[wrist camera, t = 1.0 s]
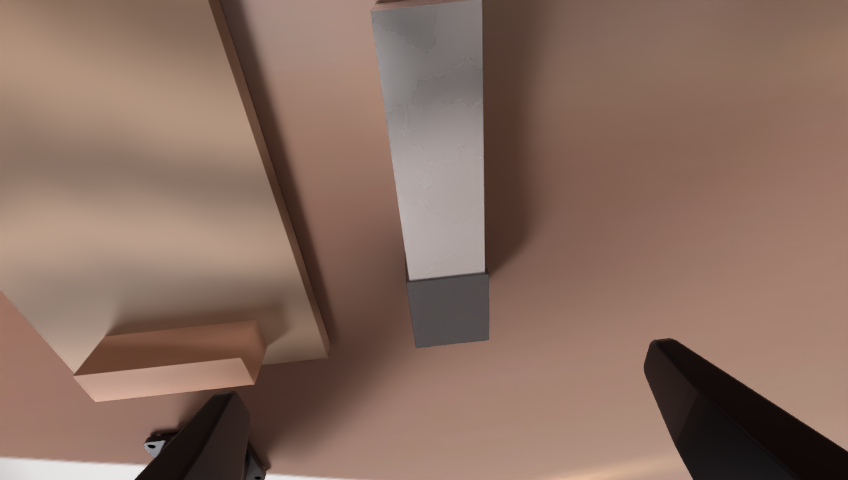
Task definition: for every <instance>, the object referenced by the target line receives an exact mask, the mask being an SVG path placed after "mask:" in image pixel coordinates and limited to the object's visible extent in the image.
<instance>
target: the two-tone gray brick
mask: <svg viewBox="0 0 848 480" xmlns="http://www.w3.org/2000/svg"><path fill="white" fill-rule="evenodd" d="M371 18H372V25H373V32H374V39H375V46H376V53H377V59H378V66H379V73H380V80H381V87H382V94H383V101H384V108H385V115H386V122H387V129H388V135H389V142H390V149H391V156H392V163H393V170H394V177H395V184H396V191H397V198H398V205H399V211H400V218H401V225H402V232H403V239H404V246H405V265H406V286H407V292H408V299H409V305H410V312H411V319H412V325H413V332H414V338H415V345H416V348H420V347H430V346H439V345H448V344H457V343H466V342H475V341H484V340H489V273H488V270H487V267H486V264H485V241H484V145H483V50H482V0H405V1H396V2H387V3H378V4H375V5H374V7H373V8H372V10H371Z"/></svg>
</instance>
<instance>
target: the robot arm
mask: <svg viewBox="0 0 848 480" xmlns="http://www.w3.org/2000/svg"><path fill="white" fill-rule="evenodd" d="M644 373H645V376H646V378H647V381H648V383H649V386H650V388H651V390H652V393H653V395H654V397H655V400H656V402H657V405H658V407H659V409H660V412H661V414H662V417H663V419H664V421H665V424H666V426H667V428H668V431H669V433H670V435H671V438H672V440H673V442H674V444H675V446H676V448H677V450H678V452H679V454H680V456H681V458H682V460H683V462H684V464H685V465H686V467H687V469H688V471H689V473H690V475H691V476H692V478H693V480H848V451H846V450H845V449H843V448H842V447H840V446H839V445H837V444H836V443H834V442H832V441H831V440H829V439H828V438H826V437H825V436H823V435H822V434H820V433H819V432H817V431H815V430H814V429H812V428H811V427H809V426H808V425H806V424H805V423H803V422H802V421H800V420H798V419H797V418H795V417H794V416H792V415H791V414H789V413H788V412H786V411H785V410H783V409H781V408H780V407H778V406H777V405H775V404H774V403H772V402H771V401H769V400H768V399H766V398H764V397H763V396H761V395H760V394H758V393H757V392H755V391H754V390H752V389H751V388H749V387H747V386H746V385H744V384H743V383H741V382H740V381H738V380H737V379H735V378H734V377H732V376H730V375H729V374H727V373H726V372H724V371H723V370H721V369H720V368H718V367H717V366H715V365H713V364H712V363H710V362H709V361H707V360H706V359H704V358H703V357H701V356H700V355H698V354H696V353H695V352H693V351H692V350H690V349H689V348H687V347H686V346H684V345H683V344H681V343H679V342H678V341H676V340H674V339H671V338H666V339H658V340H653V341H652V342H651V343H650V345H649V349H648V352H647V355H646V359H645V362H644ZM249 427H250V414H249V412H248V410H247V408H246V406H245V405H244V403H243V401H242V400H241V398H240V396H239V395H238V393H236V392H235V391H229V392H221V393H217V394H215V395H214V396H212V397H211V398H210V399H209V400H208V402H207V403H206V404H205V405H204V406H203V407H202V408H201V409H200V410H199V411H198V412H197V413H196V414H195V415H194V417H193V418H192V419H191V420H190V421H189V422H188V423H187V424H186V425H185V426H184V427H183V428H182V429H181V430H180V431H179V433H178V434H172V435H162V436H153V437H148V438H147V440H146V441H145V443H144V447H145V449H146V450H147V451H148V452H149V453H150V454H151V455H152V457H153V458H154V459H153V460H152V461H151V462H150V464H149V465H148V466H147V467H146V468H145V469H144V470H143V471H142V472H141V473H140V474H139V475H138V476H137V478H136V479H135V480H264V479H265V476H266V471H265V470H264V468H263V466H262V465H261V463H260V461H259V460H258V458H257V456H256V455H255V453H254V451H253V450H252V448H251V447H250V445H249V443H248V442H247V440H248V434H249Z"/></svg>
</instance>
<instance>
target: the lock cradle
mask: <svg viewBox="0 0 848 480" xmlns="http://www.w3.org/2000/svg"><path fill="white" fill-rule="evenodd" d="M0 290H1V291H2V292H3V293H4V294H5V296H6V297H7V298H8V299H9V300H10V301H11V302H12V304H13V305H14V306H15V307H16V308H17V309H18V310H19V311H20V313H21V314H22V315H23V316H24V317H25V318H26V319H27V320H28V322H29V323H30V324H31V325H32V326H33V327H34V328H35V329H36V331H37V332H38V333H39V334H40V335H41V336H42V337H43V338H44V340H45V341H46V342H47V343H48V344H49V345H50V346H51V347H52V349H53V350H54V351H55V352H56V353H57V354H58V355H59V356H60V358H61V359H62V360H63V361H64V362H65V363H66V364H67V365H68V367H69V368H70V369H71V370H72V371H73V372H74V373H75V374H74V375H73V377H74V379H75V380H76V381H77V382H78V383H79V384H80V385H81V386H82V388H83V389H84V390H85V391H86V392H87V393H88V394H89V395H90V396H91V398H92V399H93V400H94V401H95V402H99V401H108V400H118V399H127V398H136V397H145V396H154V395H163V394H172V393H181V392H190V391H199V390H208V389H218V388H227V387H236V386H245V385H254V384H255V382H256V379H257V376H258V373H259V370H260V367H261V365H269V364H279V363H288V362H297V361H306V360H315V359H324V358H328V355H329V350H330V342H329V339H328V336H327V333H326V330H325V326H324V323H323V320H322V317H321V314H320V311H319V308H318V305H317V302H316V298H315V295H314V292H313V289H312V286H311V283H310V280H309V277H308V274H307V270H306V267H305V264H304V261H303V258H302V255H301V252H300V249H299V246H298V243H297V239H296V236H295V233H294V230H293V227H292V224H291V221H290V218H289V215H288V211H287V208H286V205H285V202H284V199H283V196H282V193H281V190H280V187H279V183H278V180H277V177H276V174H275V171H274V168H273V165H272V162H271V159H270V156H269V152H268V149H267V146H266V143H265V140H264V137H263V134H262V131H261V128H260V124H259V121H258V118H257V115H256V112H255V109H254V106H253V103H252V100H251V97H250V93H249V90H248V87H247V84H246V81H245V78H244V75H243V72H242V69H241V65H240V62H239V59H238V56H237V53H236V50H235V47H234V44H233V41H232V37H231V34H230V31H229V28H228V25H227V22H226V19H225V16H224V13H223V10H222V6H221V3H220V0H0Z"/></svg>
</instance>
